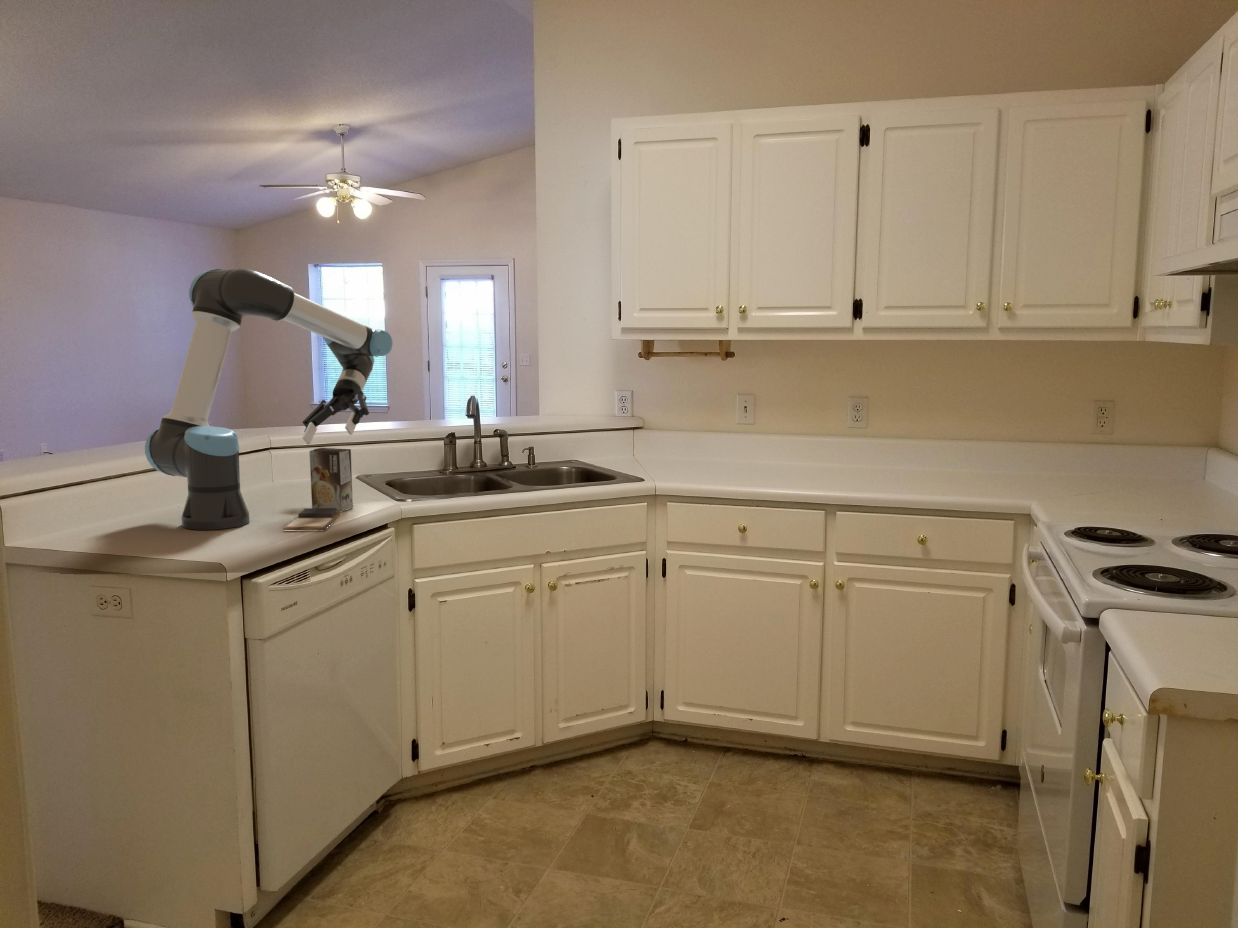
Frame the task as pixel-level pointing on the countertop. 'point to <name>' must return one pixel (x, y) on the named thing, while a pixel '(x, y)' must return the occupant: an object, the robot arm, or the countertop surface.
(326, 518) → the stamp station
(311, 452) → the grey cardboard box
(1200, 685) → the countertop surface
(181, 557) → the countertop surface
